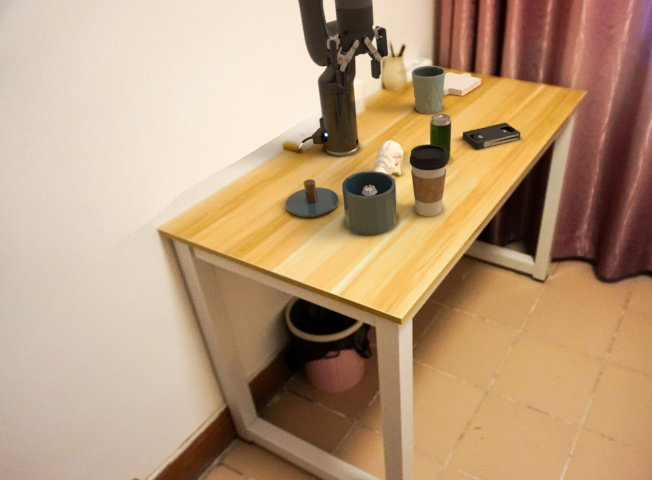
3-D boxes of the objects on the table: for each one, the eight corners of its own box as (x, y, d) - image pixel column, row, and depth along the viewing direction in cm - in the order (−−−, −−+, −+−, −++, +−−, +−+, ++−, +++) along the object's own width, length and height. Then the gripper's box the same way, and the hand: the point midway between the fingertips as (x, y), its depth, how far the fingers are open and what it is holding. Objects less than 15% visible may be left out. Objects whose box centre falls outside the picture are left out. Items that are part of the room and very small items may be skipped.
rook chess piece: (366, 226, 119) (364, 195, 114) (358, 217, 122) (355, 186, 117) (384, 220, 121) (383, 189, 116) (376, 211, 124) (374, 180, 119)
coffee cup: (435, 223, 120) (436, 162, 111) (403, 213, 124) (401, 153, 115) (453, 205, 126) (455, 146, 117) (421, 196, 129) (421, 138, 120)
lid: (277, 214, 125) (272, 192, 121) (300, 188, 134) (296, 166, 130) (326, 222, 122) (323, 199, 118) (346, 194, 131) (344, 172, 127)
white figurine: (404, 139, 134) (384, 164, 126) (406, 168, 140) (387, 194, 132) (381, 135, 136) (360, 160, 129) (384, 164, 142) (364, 189, 134)
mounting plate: (457, 98, 177) (458, 92, 176) (425, 91, 184) (425, 85, 182) (484, 82, 189) (484, 76, 188) (452, 75, 195) (452, 70, 194)
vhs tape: (476, 149, 148) (477, 143, 147) (462, 138, 154) (462, 132, 152) (520, 139, 152) (521, 132, 151) (505, 128, 158) (505, 122, 157)
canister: (338, 231, 119) (333, 193, 113) (356, 204, 127) (353, 168, 122) (387, 238, 116) (385, 200, 110) (402, 210, 125) (401, 174, 119)
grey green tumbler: (449, 106, 173) (451, 68, 165) (434, 117, 166) (434, 78, 159) (422, 100, 177) (422, 63, 170) (406, 111, 170) (405, 73, 163)
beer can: (437, 167, 141) (438, 123, 133) (425, 159, 144) (425, 116, 137) (454, 161, 143) (455, 118, 136) (442, 153, 147) (442, 111, 139)
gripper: (371, -7, 114) (376, 71, 124) (313, 5, 107) (322, 86, 117) (393, -1, 109) (396, 79, 119) (333, 12, 102) (341, 95, 112)
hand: (359, 82), depth 118 cm, fingers open, 8 cm apart
